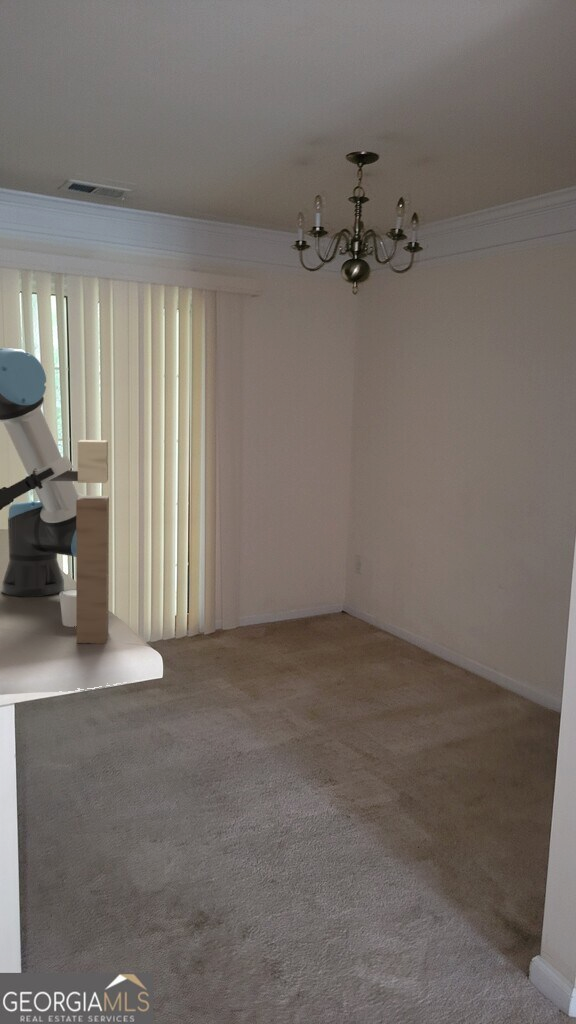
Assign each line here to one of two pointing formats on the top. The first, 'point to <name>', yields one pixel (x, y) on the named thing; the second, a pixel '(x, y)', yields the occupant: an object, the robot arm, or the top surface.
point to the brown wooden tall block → (92, 568)
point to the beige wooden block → (88, 463)
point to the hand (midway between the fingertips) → (68, 461)
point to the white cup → (68, 607)
